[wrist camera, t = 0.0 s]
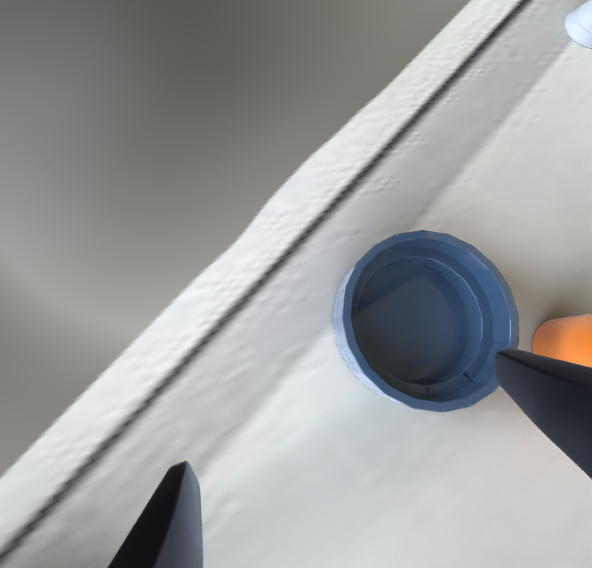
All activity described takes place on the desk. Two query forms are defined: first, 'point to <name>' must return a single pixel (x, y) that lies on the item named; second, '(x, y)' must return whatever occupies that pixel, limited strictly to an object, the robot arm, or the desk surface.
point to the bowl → (425, 321)
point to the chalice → (580, 24)
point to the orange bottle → (565, 339)
